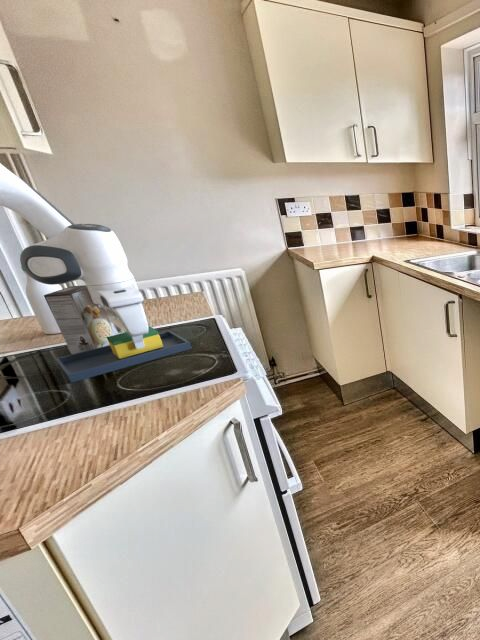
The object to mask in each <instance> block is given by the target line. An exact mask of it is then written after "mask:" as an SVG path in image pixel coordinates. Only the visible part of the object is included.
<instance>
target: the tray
mask: <svg viewBox="0 0 480 640" xmlns="http://www.w3.org/2000/svg"><path fill="white" fill-rule="evenodd" d="M158 333H159V336H160V339H161V341H162V344H163V347H162V348H158V349H154V350H151V351H147V352H143V353H140V354H136V355H132V356H129V357H125V358H121V359H119V358H118V357H117V356H116V355H115V354H114V353H113V351H112V349H111V347H110V345H108V346H104V347H100V348H96V349H92V350H88V351H84V352H80V353H76V354H68V355H64V356H60V357H56V358H54V360H55V362H56V364H57V366H58V368H59V369H60V370H61V371H62V373H63V374H64V376H65V377H66V378H67V380H68V381H69V383H71V384H72V383H75V382H80V381H84V380H87V379H89V378H93V377H97V376H100V375H104V374H108V373H111V372H115V371H118V370H123V369H126V368H129V367H133V366H136V365H140V364H143V363H147V362H150V361H154V360H157V359H161V358H164V357H168V356H172V355H176V354H179V353H182V352H186V351H189V350H192V345H191V342H190V341H189V340H188V339H185V338H184V337H182V336H180V335H179V334H177V333H175V332H174V331H172V330H165V331H161V332H158Z"/></svg>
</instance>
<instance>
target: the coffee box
mask: <svg viewBox="0 0 480 640" xmlns="http://www.w3.org/2000/svg"><path fill="white" fill-rule="evenodd" d="M44 297H45V299H46V301H47V304H48V306H49V308H50V310H51V312H52V314H53V316H54V318H55V320H56V323H57V325H58V327H59V329H60V331H61V333H60V334H61V335H62V338H63V339H64V342H65V344H66V346H67V348H68V350H69V352H70V355H72V354H76V353H80V352H84V351H88V350H92V349H96V348H100V347H104V346H108V345H110V344H109V342H108V340H107V337H109V336H113V335H117V334H119V331H117V329H116V326H115V325H114V324H113V323H112V322H111V321H110V320H109V318H108V316H107V313H106V311H105V309H104V308H103V306H102V305H101V304H95V303H93V300H92V298H91V296H90V293H89V291H88V289H87V286H86V284H84V285H71V286H68V287H65V288H62V290H58V291H55V292H52V293H49V294H46V295H44Z"/></svg>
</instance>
